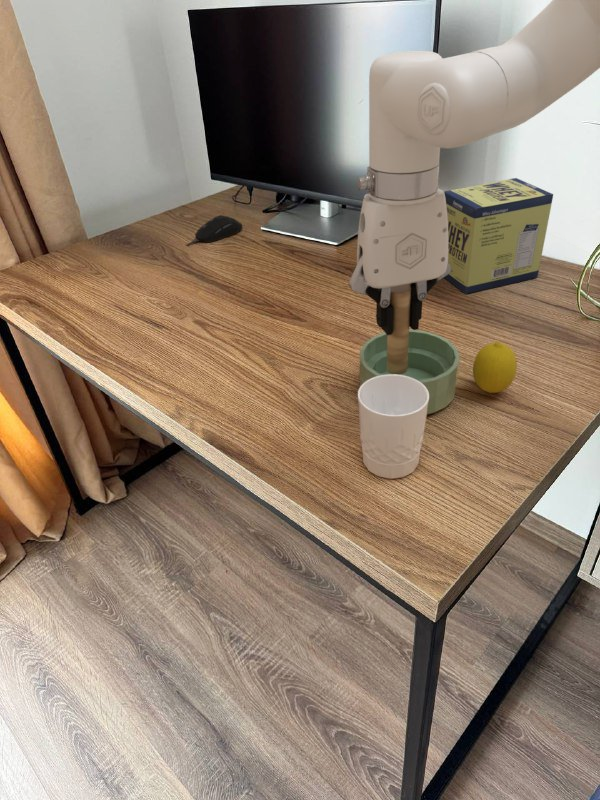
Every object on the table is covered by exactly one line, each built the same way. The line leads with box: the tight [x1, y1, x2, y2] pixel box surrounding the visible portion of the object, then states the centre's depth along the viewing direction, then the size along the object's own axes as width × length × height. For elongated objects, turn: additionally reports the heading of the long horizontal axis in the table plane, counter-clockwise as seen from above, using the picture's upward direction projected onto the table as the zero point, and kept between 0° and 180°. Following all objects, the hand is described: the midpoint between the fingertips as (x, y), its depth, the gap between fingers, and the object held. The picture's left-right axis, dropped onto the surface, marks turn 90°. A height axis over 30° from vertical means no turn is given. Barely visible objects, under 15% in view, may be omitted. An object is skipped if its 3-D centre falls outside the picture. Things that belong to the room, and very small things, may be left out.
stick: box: [387, 284, 411, 375], centre depth 76 cm, size 3×3×12 cm
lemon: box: [472, 341, 518, 394], centre depth 78 cm, size 6×6×8 cm
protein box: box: [443, 177, 554, 295], centre depth 105 cm, size 10×16×16 cm
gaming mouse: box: [186, 214, 243, 247], centre depth 133 cm, size 6×15×4 cm, turn 131°
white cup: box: [357, 374, 429, 480], centre depth 68 cm, size 8×8×10 cm
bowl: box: [359, 329, 461, 415], centre depth 81 cm, size 13×13×6 cm
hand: (398, 326), depth 75 cm, fingers closed on stick, 2 cm apart
